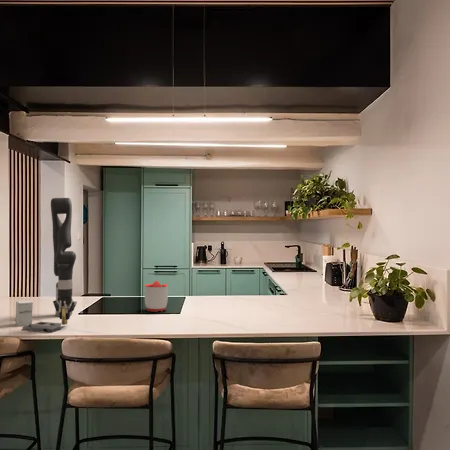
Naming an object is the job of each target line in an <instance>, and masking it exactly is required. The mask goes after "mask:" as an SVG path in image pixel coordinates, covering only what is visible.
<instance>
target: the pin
mask: <svg viewBox="0 0 450 450" xmlns="http://www.w3.org/2000/svg"><path fill="white" fill-rule="evenodd" d="M67 307H68V306H67ZM61 308H62V319H61V326H65V325H68V320H66V309H65V306H61Z"/></svg>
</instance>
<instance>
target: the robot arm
mask: <svg viewBox="0 0 450 450" xmlns="http://www.w3.org/2000/svg"><path fill="white" fill-rule="evenodd" d="M72 207H73V206H72V199H71V198H69V197H52V198H51V199H50V212H51V221H52V243H53V244H52V245H53V274H54V276H55V277H58V279H57V280H58V281H57V283H55V300H53V301H52V303H53V306H54V308H55V317H58V318H59V320H62V308H61V306H65V309H66V320H67V321H68V320H70V318H71V316H72V314H73V312H74V310H75V308H76V306H77V301H76V300H75V301H74V300H73V272H74V271H73V270H74V266H75V263H76V259H77V254H76V252H74V251H72V250H68V251H67V249H69V248H71V247H72V218H73V217H72V216H73V215H72V214H73V213H72V212H73V210H72V209H73V208H72ZM59 215H65V219H64V220H63V223H62V220H61V219H60V218H59ZM67 306H68V307H67Z"/></svg>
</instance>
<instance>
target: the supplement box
mask: <svg viewBox="0 0 450 450" xmlns="http://www.w3.org/2000/svg"><path fill="white" fill-rule="evenodd" d="M33 308H34V302H33V301H32V300H19V301H16V302H15V325H16V326H17V327H23V326H27V325H29V324H33V310H34V309H33Z"/></svg>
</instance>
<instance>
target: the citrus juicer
mask: <svg viewBox="0 0 450 450" xmlns="http://www.w3.org/2000/svg"><path fill="white" fill-rule="evenodd" d="M168 295H169V284H167V283H163V284H161V283H160V282H159V281H158V280H155V281H154V282H153V283H147V284H144V304H145V308H146V311H147V312H149V311H150V313H159V312H158V311H161V312H164V311H163V310H166V308H167V305H168V299H169V298H168V297H169V296H168Z"/></svg>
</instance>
